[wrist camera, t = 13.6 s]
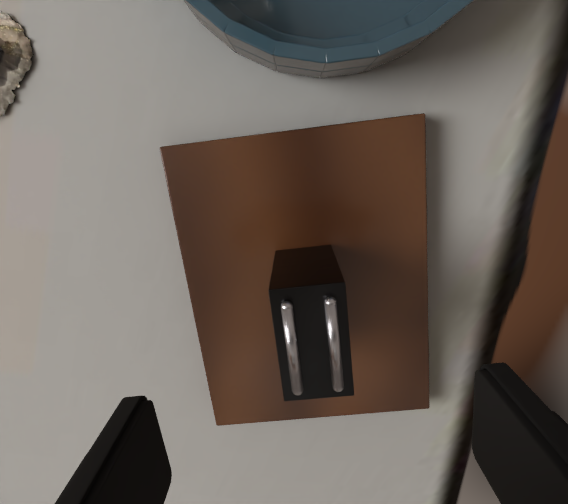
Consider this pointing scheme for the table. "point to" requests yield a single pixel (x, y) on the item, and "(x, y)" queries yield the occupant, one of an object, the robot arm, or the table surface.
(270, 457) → the table surface
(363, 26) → the bowl
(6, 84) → the blueberries
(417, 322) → the serving board
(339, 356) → the clip
